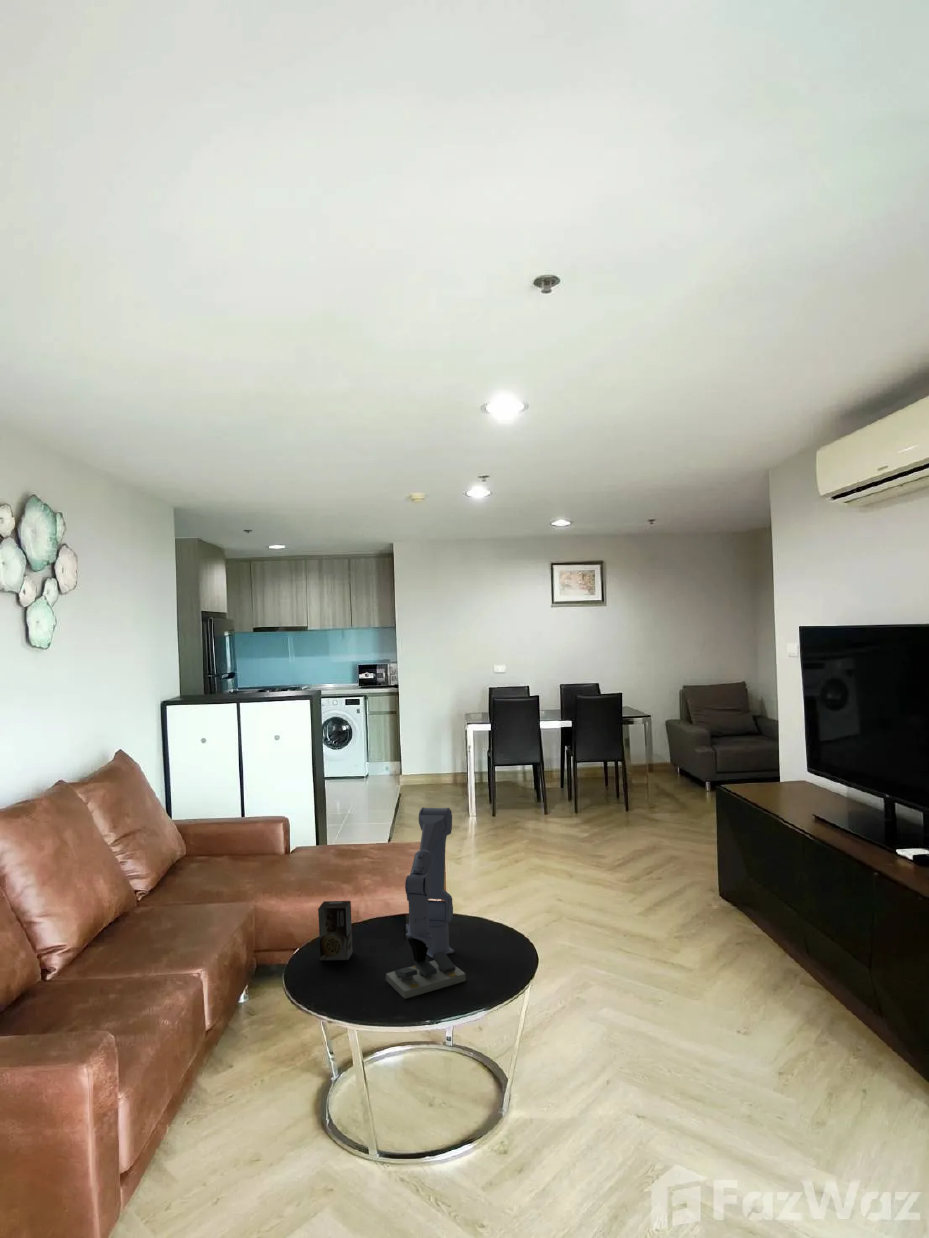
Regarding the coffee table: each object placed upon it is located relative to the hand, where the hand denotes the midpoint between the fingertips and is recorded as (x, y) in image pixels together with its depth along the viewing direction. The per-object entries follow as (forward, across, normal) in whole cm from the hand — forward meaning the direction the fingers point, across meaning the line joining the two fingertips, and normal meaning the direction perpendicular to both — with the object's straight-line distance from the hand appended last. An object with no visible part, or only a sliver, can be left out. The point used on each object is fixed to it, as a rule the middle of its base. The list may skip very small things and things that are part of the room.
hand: (420, 963), depth 205 cm
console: (+4, +3, 0) cm, 5 cm away
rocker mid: (0, +3, 0) cm, 3 cm away
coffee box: (+4, -28, -16) cm, 32 cm away
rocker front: (0, +3, -6) cm, 7 cm away
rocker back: (0, +3, +6) cm, 7 cm away
